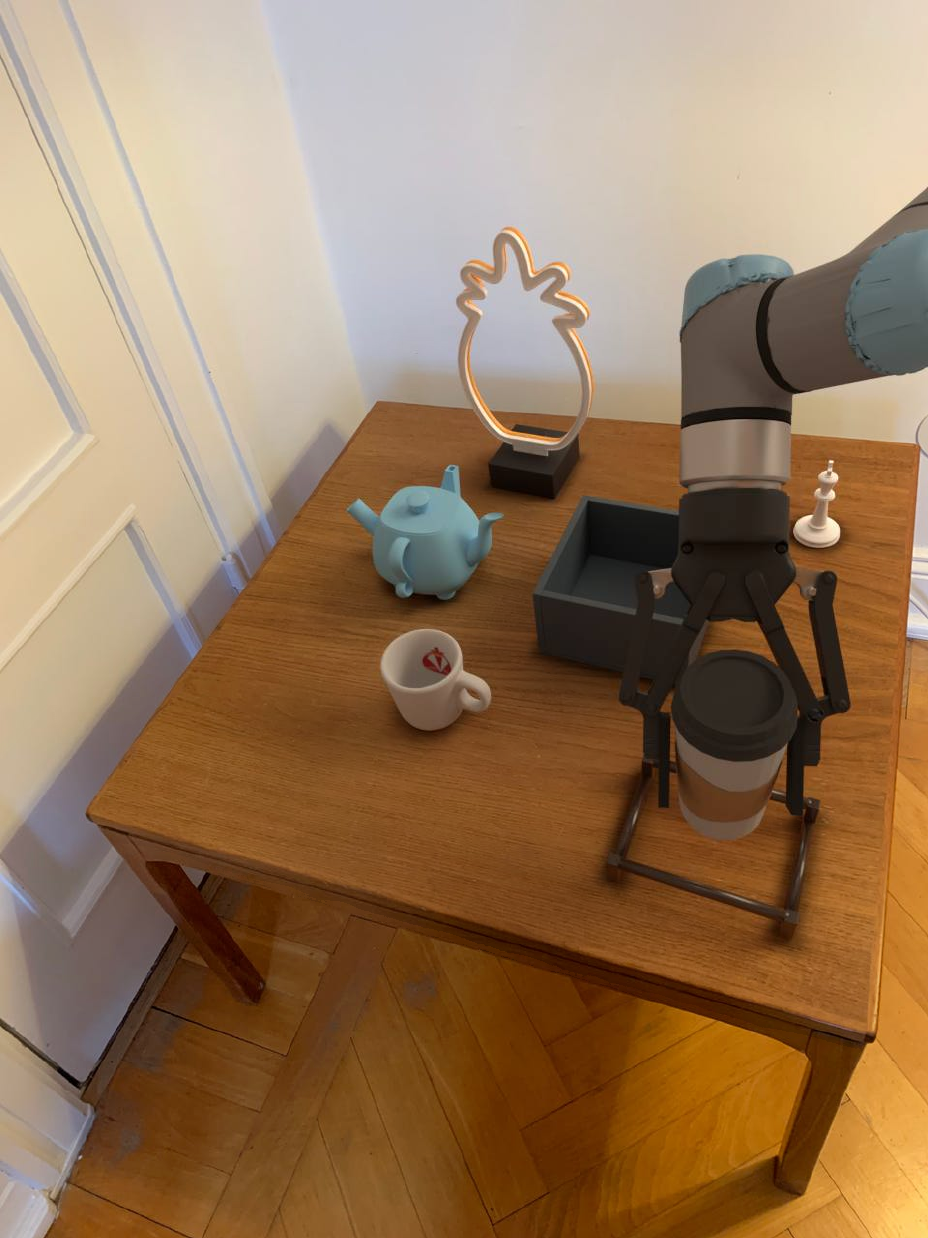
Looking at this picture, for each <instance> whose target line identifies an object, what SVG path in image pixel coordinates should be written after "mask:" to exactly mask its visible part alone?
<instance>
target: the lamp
mask: <svg viewBox="0 0 928 1238" xmlns="http://www.w3.org/2000/svg"><path fill="white" fill-rule="evenodd" d="M507 245H508V246H510V247H511V249H512V250H513V253H514V255H515V258H516V261H517V265H518V270H519V274H520V279H521V280H520V281H521V284H522V287H523V289H524V291H525V292H530V291H532V290H534V289H535V288H537V287H538V286H539V285H542V284H544V283H545V282H546V281H548V280H550V279H552V278H554V280H553V281H551V283H549V285H548V286H547V287H546V288H545V289H544V290H543V291H542V292H541V294H540V295H539V299H540V301H542V302H544V303H546V304H549V305H552V306H554V307H557V308H560V309H561V310H564V311H566V312H567V313H564V314H560V315H554V317H553V318H552V319H551V324H552V325H553V326H554V328H555V329H556V331H557V332H558V334H559V335H560V336H561V338H562V339H563V341H564V343H565V344H566V346H567V348H568V349H569V351H570V353H571V355H572V357H573V359H574V361H575V364H576V366H577V370H578V374H579V377H580V383H581V399H580V406H579V411H578V415H577V417H576V419H575V421H574V423H573V425H572V426H571V428H570V429H569V430H568V431H562V430H557V429H551V428H545V427H544V428H543V427H539V426H532V425H524V424H519V423H515V425H514V426H513V427H512V429H511V430H509V429H507V428H506V427H504V426H503V425H502V424H501V423H500V422H499V421H498V420H497V419H496V417H495V416H494V415H493V414H492V412H491V411H490V409H489V407H488V406H487V404H486V403H485V401H484V400H483V398H482V396H481V394H480V392H479V390H478V388H477V385H476V382H475V379H474V376H473V371H472V366H471V346H472V340H473V337H474V334H475V331H476V328H477V327H478V324H479V322H480V321H481V319H482V318H483V316H484V312H483V311H482V310H481V309H480V308H479V307H478V306H477V305H475V303H474V302H473V301H483V300H485V299H486V298H487V296H488V295H489V294H488V290H487V288H485V283H488V284H489V285H490V284H491V285H497V284H499V283H500V282H501V281H502V280H503V278H504V277H505V273H506V272H507V266H508V255H507V253H508V252H507ZM492 258H493V259H492V260H493V265H491V264H488V263H486V262H484V261H482V260H481V259H471V260H469V261H467V262H466V263H465V264H464V265H463V267H462V268H461V269H460V271H459V277H460V280H461V283H462V284H463V285H464V286H465V287H466V288H465V289H463V290H462V292H461V293H459V294H458V295H457V297H456V299H455V304H456V307H457V309H458V310H459V311H460V312H461V313H462V314H463V315H464V316H465V317H466V319H467V322H466V324H465V325H464V328H463V330H462V334H461V337H460V340H459V344H458V345H459V346H458V352H457V365H458V374H459V379H460V383H461V386H462V390H463V392H464V395H465V397H466V399H467V401H468V403H469V404H470V407H471V409H472V410H473V412H474V414H475V415H476V417H477V418H478V419H479V421H480V422H481V423H482V425H483V426H484V428H485V429H486V430H487V431H488V432H489V433H490V434H491V435H492V436H494V437H495V438H496V439H497V440H499V441H501V442H502V443H501V445H500V446H499V448H498V449H497V450H496V451H495V453H494V455H493V456H492V457H491V459H490V460H489V461H488V463H487V467H488V473H489V479H490V486H491V488H495V489H500V490H505V491H510V492H515V493H521V494H526V495H531V496H536V497H542V498H546V499H550V500H551V499H552V500H555V499H556V497H557V496H558V495H559V492H560V491H561V489H562V488H563V486H564V484H565V483H566V481H567V479H568V477H569V476H570V475H571V473H572V471H573V469H574V468H575V466H576V464H578V461H579V459H580V458H581V457H580V440H579V439H580V438H579V437H580V436H579V433H580V431H581V429H582V428H583V426H584V424H585V423H586V420H587V419H588V416H589V414H590V411H591V409H592V405H593V399H594V390H595V389H594V387H595V384H594V374H593V369H592V365H591V362H590V358H589V355H588V352H587V350H586V347H585V345H583V342H582V340H581V338H580V337H579V335H578V333H577V332H576V330H575V329H581V328H582V327H584V326H585V324H586V322H587V321H588V320H589V318H590V316H591V310H590V308H589V306H588V304H587V303H586V302H585V301H584V300H582V299H581V298H580V297H579V296H577V295H574V294H571V293H569V292H565V291H562V289H563V288H564V287H565V286H566V284H567V283H568V282H569V281H570V279H571V274H572V273H571V269H570V267H569V266H568V264H566V263H565V262H562V261H553V262H551V263H548V264H547V265H545V266H544V267H542V268H541V269H540V270H536V269H535V266H534V261H533V255H532V252H531V249H530V246H529V244H528V242H527V239H526V237H525V235H524V234H523V233H522V232H521V231H520V230H519V229H517V228H515V227H513V226H505V227H503V228H502V229H500V231H499V232H498V234H497V235H496V236H495V238H494V240H493V243H492ZM483 281H484V282H485V283H484V282H483Z"/></svg>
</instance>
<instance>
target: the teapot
mask: <svg viewBox="0 0 928 1238" xmlns="http://www.w3.org/2000/svg"><path fill="white" fill-rule="evenodd" d="M459 468H460V467H459V465H455V464H449V465H448V466H447V467H446V469H444V474H443V476H442V480H441V484H440V487H436V486H430V485H429V486H428V485H412V486H406V487H403V488H401V489H400V490H398V491H396V492H395V494H393V496H392V497H391V498H390V499H389V501H388V502H387V503H386V504H385V506H384V508H383V509H382V511H381V512H380V515H378V514H377V513H376V512H375V511H374V510H373V509H371V507H369V506H368V505H367V504H365V502H364V501H362V500H361V498H359V497H357V499H356V500H354V501H353V502H352V503H351V504H350V505H349V506H348V508H347V509H346V512H347V513H348V514H349V515H350V516H351V517H352V518H353V519H354V520H355V521H356V522H357V523H358V524H359V525H360V526H361V527H362V528H364V529H365V530H366V531H367V532H368V533H369V534H370V536H372V537H373V539H372V559H373V565H374V568H375V570H376V571H377V573H378V574H379V576H380V577H382V578H383V579H384V580H385V581H387V582H388V583H389V584H391V585H393V586H394V587H395V594H396V596H397V597H399V598H401V599H406V598H409V597H410V596H411V595H412V594H418V595H419V594H420V595H430V596H431V595H433V596H435V595H436V597H437V598H438V599H439V600H446V601H447V600H450V599H451V598H453V597H454V596H455V595H456V592H457V591H459V589H461V588H463V586H464V585H465V584H466V583H467V582H468V581H469V579H470V578H471V576H472V575H473V574H474V572H475V570H476V569H477V567H478V565H479V564H480V563H481V562H482V561H483V560H484V559H485V558H487V556H488V555H489V553H490V551H491V549H492V544H493V533H492V532H493V531H492V527H493V524H494V523H495V522H497V521H499V520H501V519H502V518H503V517H504V513H502V512H491V513H487V514H485V515H483V516H482V517H481V518H480V519H479V518H478V516H477V515H476V513H475V512H474V511H473V509H472V508H471V507H470V506H469V504H468V503H467V502H466V501H465V500H464V499H463V498H462V496H461V483H460V469H459Z"/></svg>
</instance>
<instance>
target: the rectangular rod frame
mask: <svg viewBox="0 0 928 1238" xmlns="http://www.w3.org/2000/svg"><path fill="white" fill-rule="evenodd" d="M656 769H657V770H659V759H646V758H645V756H644V754H643V756H642V759H641V772H640V773H641V774H640V778H639V781H638V783H637V787H636V790H635V792H634V796H633V797H632V798H633V799H632V801H631V804H630V807H629V810H628V813H627V815H626V819H625V821H624V824H623V827H622V830H621V833H620V836H619V838H618V841H617V845H616V848H615V850H614V853H613V852H611V851H610V852H609V853H608V856H607V859H606V861H605V862H606V863H605V864H606V865H605V867H606V869H605V871H606V879H607V880H608V881H612V882H615V883H619V881H620V878H621V875H622V872H625V873H628V874H631V875H634V876H637V877H640V878H644V879H647V880H649V881H652V882H656V883H659V884H663V885H666V886H668V887H671V888H674V889H677V890H680V891H684V892H687V893H690V894H693V895H696V896H699V897H702V898H705V899H708V900H711V901H714V902H718V903H720V904H724V905H727V906H729V907H732V908H736V909H738V910H741V911H744V912H748V913H750V914H754V915H757V916H760V917H763V918H765V919H770V920H773V921H774V922H775V921H776V922H778V923H781V924H780V928H779V933H778V937H780V938H784V939H787V940H789V941H793V938H794V936H795V933H796V930H797V927H798V924H799V918H800V912H799V909H800V904H801V903H800V902H801V898H802V893H803V889H804V883H805V877H806V873H807V867H808V862H809V858H810V857H809V856H810V853H811V852H810V851H811V847H812V841H813V836H814V831H815V830H814V829H815V825H816V822H817V820H818V819H817V818H818V816H819V812H820V808H821V803H822V800H821V799H818V798H815V797H811V796H808V797H806V796H803V816H802V819H801V825H800V831H799V836H798V841H797V845H796V851H795V856H794V861H793V866H792V870H791V875H790V880H789V885H788V890H787V895H786V900H785V905H784V908H781V907H778V906H774V905H772V904H768V903H766V902H763V901H759V900H756V899H753V898H749V897H746V896H743V895H740V894H737V893H734V892H731V891H728V890H724V889H722V888H719V887H716V886H712V885H710V884H706V883H703V882H701V881H700V882H699V881H697V880H693V879H691V878H688V877H684V876H681V875H678V874H675V873H672V872H669V871H665V870H663V869H659V868H655V867H653V866H650V865H647V864H644V863H641V862H637V861H634V860H631V859H628V858H627V856H628V852H629V850H630V846H631V844H632V840H633V837H634V834H635V831H636V828H637V826H638V822H639V820H640V817H641V813H642V811H643V807H644V804H645V801H646V799H647V795H648V792H649V790H650V787H651V784H652V782H653V780H654V777H655V774H656ZM671 773H672V774H674V775H677V774H676V761H674V760H670V774H671ZM769 801H773V802H776V803H780V804H784V805H786V790H785V791H784V790H780V789H778V788H773V791H772V794H771V796H770V798H769Z"/></svg>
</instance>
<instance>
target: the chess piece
mask: <svg viewBox="0 0 928 1238" xmlns="http://www.w3.org/2000/svg"><path fill="white" fill-rule="evenodd" d="M834 462H835V461H834V460H831V459H830V460H829V461H828V464H827V470H825V471H821V472H820V473H819V474H818V476H817V480H818V484H819V488H817V489H816V490H815V491H814V493H813V496H814V498H815V499H816V500H817V502H816V506H815V508H814V511H813V513H812V514H809V515H805V516H802V517H801V518H799V519H798V520H797V521H796V522H795V524H794V527H793V529H792V530H793V531H792V532H793V536H794V538H795V539H796V540H797V542H799V543H800V544H802V545H804V546H805V547H810V548H813V549H814V548H816V549H823V548H829V547H831V546H834V545H835V544H836V543H837V542H839V540H840V537H841V528H840V525H839V524H838V523H837V522H836V521H835V520H834V519H833V518H831V517H829V516H828V512H829V511H828V510H829V509H828V508H829V502H831V501H833V500H834V499H835V498H836V492H835V491H834V490H833V489H834V486H835V485H836V484H837V483H838V482H839V475H838V474H837V473H836V472H834V471H833V468H834V464H835V463H834Z"/></svg>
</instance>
